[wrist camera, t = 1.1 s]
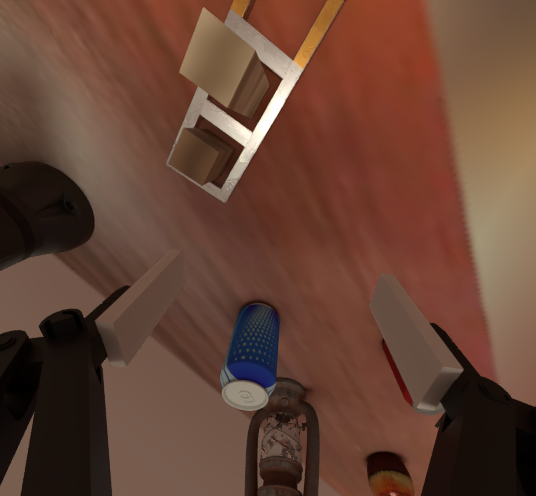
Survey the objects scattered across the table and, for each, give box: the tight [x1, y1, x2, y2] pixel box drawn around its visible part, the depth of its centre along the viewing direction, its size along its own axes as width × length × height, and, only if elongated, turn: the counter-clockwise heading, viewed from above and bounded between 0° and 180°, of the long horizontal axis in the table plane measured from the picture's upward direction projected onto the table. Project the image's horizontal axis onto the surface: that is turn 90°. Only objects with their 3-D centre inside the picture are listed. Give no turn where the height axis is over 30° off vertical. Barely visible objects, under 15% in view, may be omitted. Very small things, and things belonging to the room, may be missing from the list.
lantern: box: [245, 378, 320, 496], centre depth 40 cm, size 11×16×35 cm
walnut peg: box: [168, 127, 235, 186], centre depth 29 cm, size 4×4×8 cm
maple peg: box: [179, 7, 270, 119], centre depth 23 cm, size 4×4×13 cm
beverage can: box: [383, 341, 445, 415], centre depth 40 cm, size 7×7×12 cm
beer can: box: [220, 303, 280, 411], centre depth 39 cm, size 8×8×16 cm
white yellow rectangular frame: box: [166, 0, 346, 203], centre depth 29 cm, size 10×28×2 cm, turn 146°
